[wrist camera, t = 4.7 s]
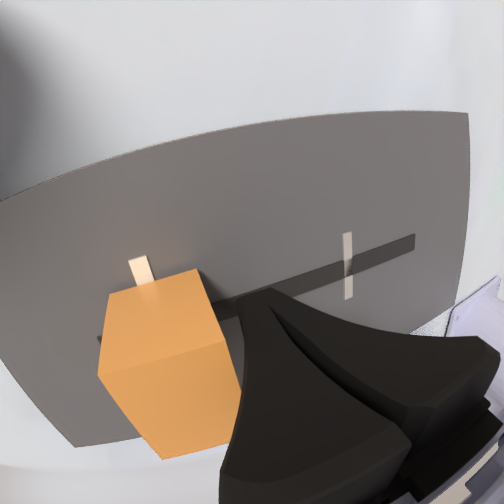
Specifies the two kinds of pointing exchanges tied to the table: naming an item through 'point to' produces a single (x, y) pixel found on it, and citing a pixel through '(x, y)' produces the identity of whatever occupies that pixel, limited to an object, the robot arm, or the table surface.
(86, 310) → the board
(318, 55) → the table surface
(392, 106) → the table surface
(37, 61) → the table surface
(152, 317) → the fader knob
